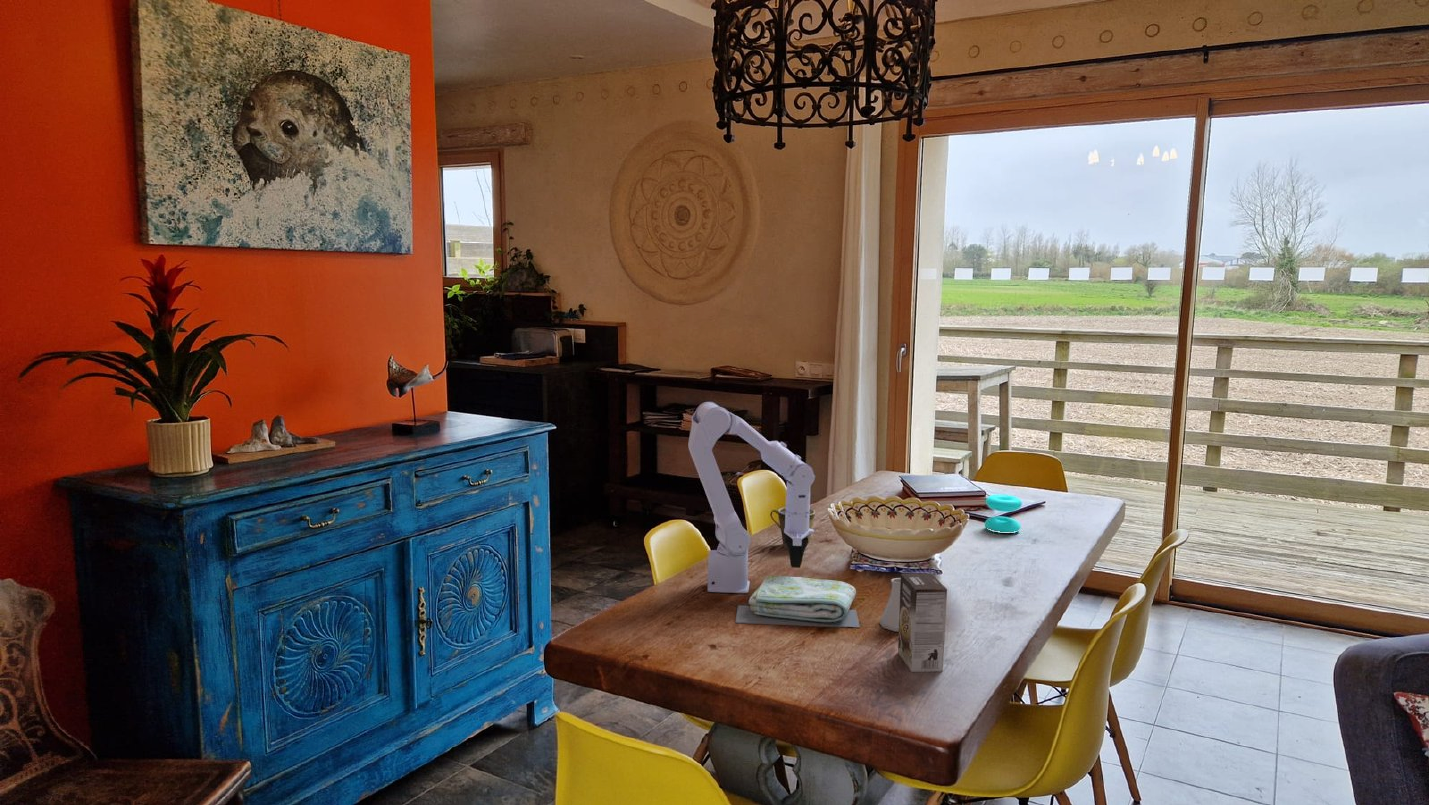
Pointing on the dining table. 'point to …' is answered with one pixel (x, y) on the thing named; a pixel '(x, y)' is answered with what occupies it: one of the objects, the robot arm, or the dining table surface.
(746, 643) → the dining table surface
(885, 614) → the flask
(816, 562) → the dining table surface
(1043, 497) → the dining table surface
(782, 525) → the ceramic cup
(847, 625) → the slate mat
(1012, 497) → the donuts
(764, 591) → the towel
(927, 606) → the coffee box
